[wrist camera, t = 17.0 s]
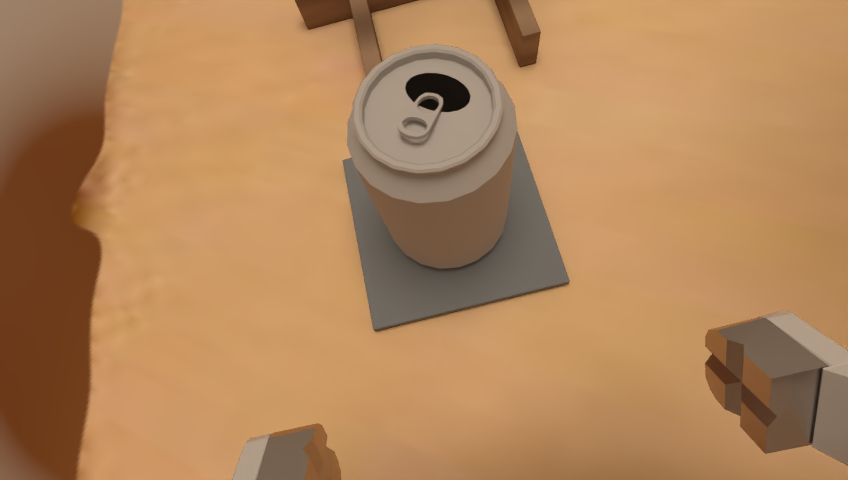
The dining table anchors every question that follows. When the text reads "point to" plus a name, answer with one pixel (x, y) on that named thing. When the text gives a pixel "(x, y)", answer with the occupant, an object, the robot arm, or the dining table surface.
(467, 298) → the slate mat
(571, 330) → the dining table surface
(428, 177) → the can
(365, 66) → the walnut cradle
